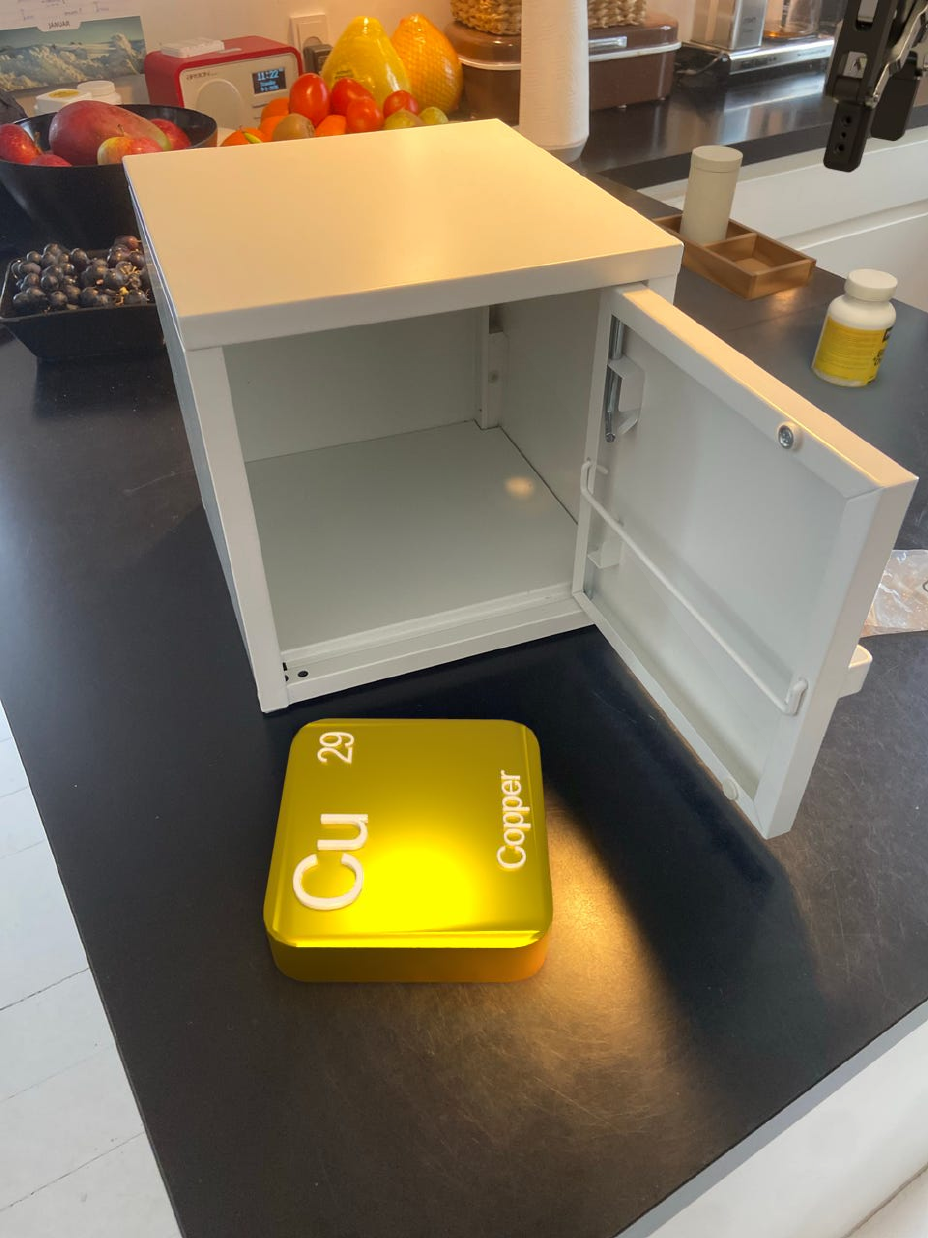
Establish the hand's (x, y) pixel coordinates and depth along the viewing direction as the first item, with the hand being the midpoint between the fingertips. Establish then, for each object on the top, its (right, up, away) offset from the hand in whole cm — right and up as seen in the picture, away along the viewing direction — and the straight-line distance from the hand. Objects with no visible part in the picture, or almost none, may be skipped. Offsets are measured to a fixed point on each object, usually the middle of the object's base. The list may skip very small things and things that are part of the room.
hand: (863, 152), depth 62 cm
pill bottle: (+13, -7, +35) cm, 38 cm away
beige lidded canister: (+5, +18, +61) cm, 63 cm away
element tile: (-30, -46, -8) cm, 55 cm away
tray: (+7, +15, +58) cm, 60 cm away
